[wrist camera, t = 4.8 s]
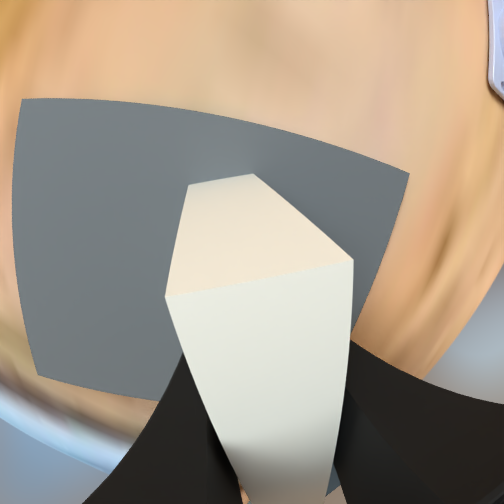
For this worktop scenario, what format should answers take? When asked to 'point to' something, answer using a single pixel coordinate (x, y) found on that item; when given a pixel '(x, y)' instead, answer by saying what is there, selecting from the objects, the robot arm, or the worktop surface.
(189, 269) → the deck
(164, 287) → the mat
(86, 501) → the robot arm
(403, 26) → the worktop surface
